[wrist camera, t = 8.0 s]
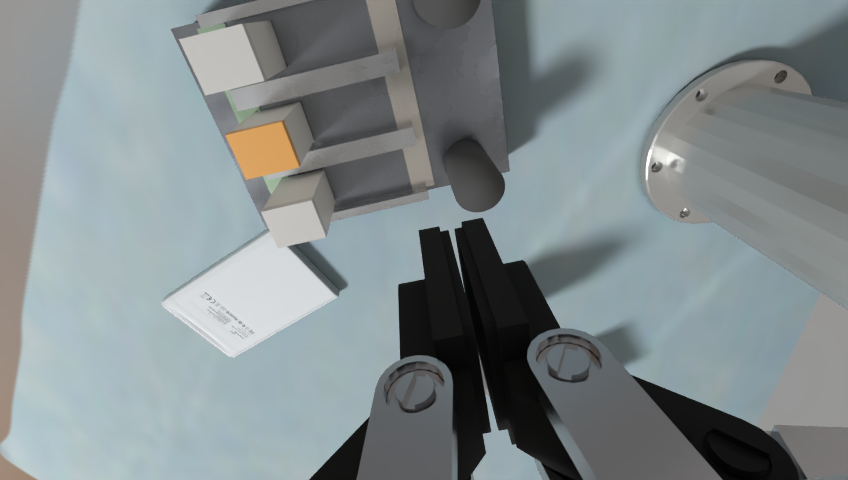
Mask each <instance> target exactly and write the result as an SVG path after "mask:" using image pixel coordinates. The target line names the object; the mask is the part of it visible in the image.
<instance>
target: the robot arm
mask: <svg viewBox="0 0 848 480" xmlns="http://www.w3.org/2000/svg"><path fill="white" fill-rule="evenodd" d="M640 177H641V184H642V187H643V190H644V193H645V195H646V197H647V198H648V200H649V201H650V203H651V204H652V205H653V206H654V207H656V208H657V209H658V210H659V211H660V212H662V213H663V214H665V215H666V216H668V217H669V218H671V219H674V220H676V221H679V222H685V223H692V224H697V223H709V222H714V223H716V224H717V225H719V226H720V227H722V228H723V229H725V230H726V231H728V232H729V233H731V234H732V235H734V236H735V237H737V238H738V239H740V240H741V241H743V242H745V243H746V244H748V245H749V246H751V247H752V248H754V249H755V250H757V251H758V252H760V253H761V254H763V255H764V256H766V257H767V258H769V259H770V260H772V261H774V262H775V263H777V264H778V265H780V266H781V267H783V268H784V269H786V270H787V271H789V272H790V273H792V274H793V275H795V276H796V277H798V278H799V279H801V280H802V281H804V282H806V283H807V284H809V285H810V286H812V287H813V288H815V289H816V290H818V291H819V292H821V293H822V294H824V295H826V296H827V297H829V298H830V299H832V300H833V301H835V302H836V303H838V304H839V305H841V306H842V307H844V308H845V309H847V310H848V103H847V102H842V101H838V100H833V99H828V98H823V97H818V96H813V94H812V91H811V88H810V85H809V84H808V82H807V81H806V80H805V78H804V77H803V75H802V74H801V73H799V72H798V71H796V70H795V69H794V68H792V67H791V66H788V65H786V64H783V63H780V62H777V61H769V60H762V59H752V60H741V61H737V62H732V63H728V64H725V65H723V66H721V67H718V68H716V69H713V70H711V71H709V72H707V73H706V74H704V75H703V76H701V77H699V78H698V79H696V80H694V81H693V82H692V83H690V84H689V85H688V86H687V87H686V88H684V89H683V90H682V91H681V92H680V93H678V94H677V95H676V97H675V98H674V99H673V100H672V101H671V102H670V103H669V104H668V105H667V106H666V107H665V109H664V110H663V111H662V113H661V114H660V116H659V117H658V119H657V120H656V122H655V123H654V125H653V127H652V129H651V131H650V133H649V135H648V137H647V139H646V142H645V145H644V148H643V152H642V155H641V163H640ZM455 235H456V241H457V247H458V253H459V260H460V266H461V272H462V278H463V284H464V288H463V284H462V280H461V277H460V273H459V269H458V265H457V261H456V258H455V254H454V250H453V246H452V242H451V239H450V235H449V231H448V230H447V231H442V232H440V228H439V227H434V228H429V229H424V230H419V236H420V244H421V252H422V259H423V267H424V275H425V279H423V280H418V281H413V282H408V283H403V284H399V285H398V297H399V330H400V360H399V361H397V362H395V363H394V364H392V365H391V366H390V367H389V368H387V369H386V370H385V372H384V373H383V374H382V375H381V377H380V378H379V381H378V383H377V386H376V389H375V394H374V398H373V403H372V408H371V413H370V417H369V418H368V419H367V420H366V421H365V422H364V423H363V424H362V425H361V426H360V427H359V428H358V429H357V430H356V431H355V432H354V433H353V435H352V436H351V437H350V438H349V439H348V440H347V441H346V442H345V443H344V444H343V445H342V446H341V447H340V448H339V449H338V450H337V451H336V452H335V453H334V454H333V455H332V456H331V457H330V458H329V460H328V461H327V462H326V463H325V464H324V465H323V466H322V467H321V468H320V469H319V470H318V471H317V472H316V473H315V474H314V475H313V476H312V477H311V478H310V479H309V480H474V477H473V471H474V470H475V468H476V467H477V465H478V464H479V462H480V461H481V460H482V458H483V457H484V455H485V454H486V451H485V445H484V439H483V434H484V433H489V432H491V428H490V422H489V415H488V409H487V403H486V397H485V390H484V384H483V378H482V372H481V365H480V361H481V364H482V368H483V372H484V376H485V380H486V384H487V388H488V392H489V396H490V399H491V403H492V407H493V411H494V415H495V419H496V423H497V426H498V430H499V431H500V430H505V429H508V432H509V436H510V439H511V443H512V445H513V444H516V446H517V448H519V449H520V450H522V451H524V452H525V453H527V454H529V455H530V456H532V457H534V459H535V463H536V466H537V469H538V471H539V473H540V475H541V477H542V479H543V480H848V428H842V427H816V426H815V427H814V426H787V425H774V427H773V430H772V431H763V430H762V429H760V428H758V427H756V426H754V425H752V424H750V423H748V422H746V421H744V420H742V419H740V418H737V417H735V416H732V415H730V414H727V413H725V412H722V411H720V410H717V409H715V408H712V407H710V406H707V405H705V404H702V403H700V402H697V401H695V400H692V399H690V398H687V397H685V396H682V395H680V394H677V393H675V392H672V391H670V390H667V389H665V388H662V387H660V386H657V385H655V384H652V383H650V382H647V381H645V380H642V379H640V378H637V377H635V376H632V375H630V374H629V372H628V371H627V370H626V369H625V368H624V367H623V366H622V364H621V363H620V362H619V361H618V360H617V359H616V358H615V356H614V355H613V354H612V353H611V352H610V351H609V350H608V348H607V347H606V346H605V345H604V344H603V343H602V342H600V341H599V340H598V339H597V338H596V337H594V336H592V335H590V334H588V333H586V332H583V331H579V330H575V329H566V328H560V326H559V324H558V322H557V321H556V319H555V317H554V315H553V313H552V311H551V309H550V307H549V306H548V304H547V302H546V300H545V298H544V296H543V294H542V292H541V291H540V289H539V287H538V285H537V283H536V281H535V279H534V277H533V276H532V274H531V272H530V270H529V268H528V266H527V264H526V263H525V261H523V260H521V261H516V262H511V263H506V264H503V263H502V260H501V258H500V256H499V254H498V251H497V249H496V247H495V245H494V242H493V240H492V238H491V236H490V233H489V231H488V229H487V227H486V224H485V222H484V220H483V218H479V219H474V220H469V221H464V222H462V228H457V229H455ZM464 290H465V292H464ZM479 357H480V359H479Z"/></svg>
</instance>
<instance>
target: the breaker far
mask: <svg viewBox="0 0 848 480" xmlns="http://www.w3.org/2000/svg"><path fill="white" fill-rule="evenodd" d="M335 202H336V201H335V199H334V196H333V193H332V190H331V188H330V185H329V182H328V179H327V176H326V174H325V171H324V169H321V170H317V171H313V172H309V173H304V174H300V175H296V176H292V177H287V178H283V179H281V180H280V182H279V183H278V185H277V186H276V188H275V190H274V191H273V193H272V195H271V196H270V198H269V200H268V201H267V203H266V204H265V206H264V208H263V209H262V211H261V214H262V216H263V218H264V220H265V222H266V224H267V226H268V228H269V230H270V233H271V235H272V237H273V239H274V241H275V243H276V245H277V247H278V248H282V247H286V246H291V245H295V244H300V243H304V242H308V241H313V240H317V239H321V238H326V237H327V233H328V229H329V225H330V221H331V217H332V214H333V210H334V206H335Z"/></svg>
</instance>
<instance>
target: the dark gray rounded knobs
mask: <svg viewBox="0 0 848 480" xmlns="http://www.w3.org/2000/svg"><path fill="white" fill-rule="evenodd" d="M480 1H481V0H412V5H413V7H414V10H415V12H416V13H417V15H418V16H419V17H420V18H421V19H422V20H423V21H425V22H427V23H429V24H431V25H434V26H437V27H439V28H443V29H454V28H458V27H460V26H462V25H464V24H465V23H467V22H468V21H469V20H470V19H471V18H472V17H473V16H474V14H475V13H476V11H477V9H478V7H479V4H480ZM444 168H445V171H446V174H447V176H448V179H449V182H450V185H451V187H452V190H453V193H454V196H455V198H456V201H457V202H458V204H459V205H460V206H461V207H462V208H464V209H466V210H468V211H471V212H483V211H486V210H489V209H491V208H492V207H494V206H495V205H496V204H497V203H498V202H499V201H500V200H501V198H502V196H503V194H504V190H505V182H504V178H503V176H502V174H501V173H500V171H499V170H498V169H497V167H496V166H495V164H494V163H493V161H492V160H491V158H490V157H489V156H488V154H487V153H486V151H485V150H484V148H483V147H482V146H481V145H480V144H479V143H478V142H476V141H473V140H469V139H464V140H460V141H457V142H455V143H454V144H452V145H451V146H450V147H449V148H448V149H447V151H446V153H445V156H444Z"/></svg>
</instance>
